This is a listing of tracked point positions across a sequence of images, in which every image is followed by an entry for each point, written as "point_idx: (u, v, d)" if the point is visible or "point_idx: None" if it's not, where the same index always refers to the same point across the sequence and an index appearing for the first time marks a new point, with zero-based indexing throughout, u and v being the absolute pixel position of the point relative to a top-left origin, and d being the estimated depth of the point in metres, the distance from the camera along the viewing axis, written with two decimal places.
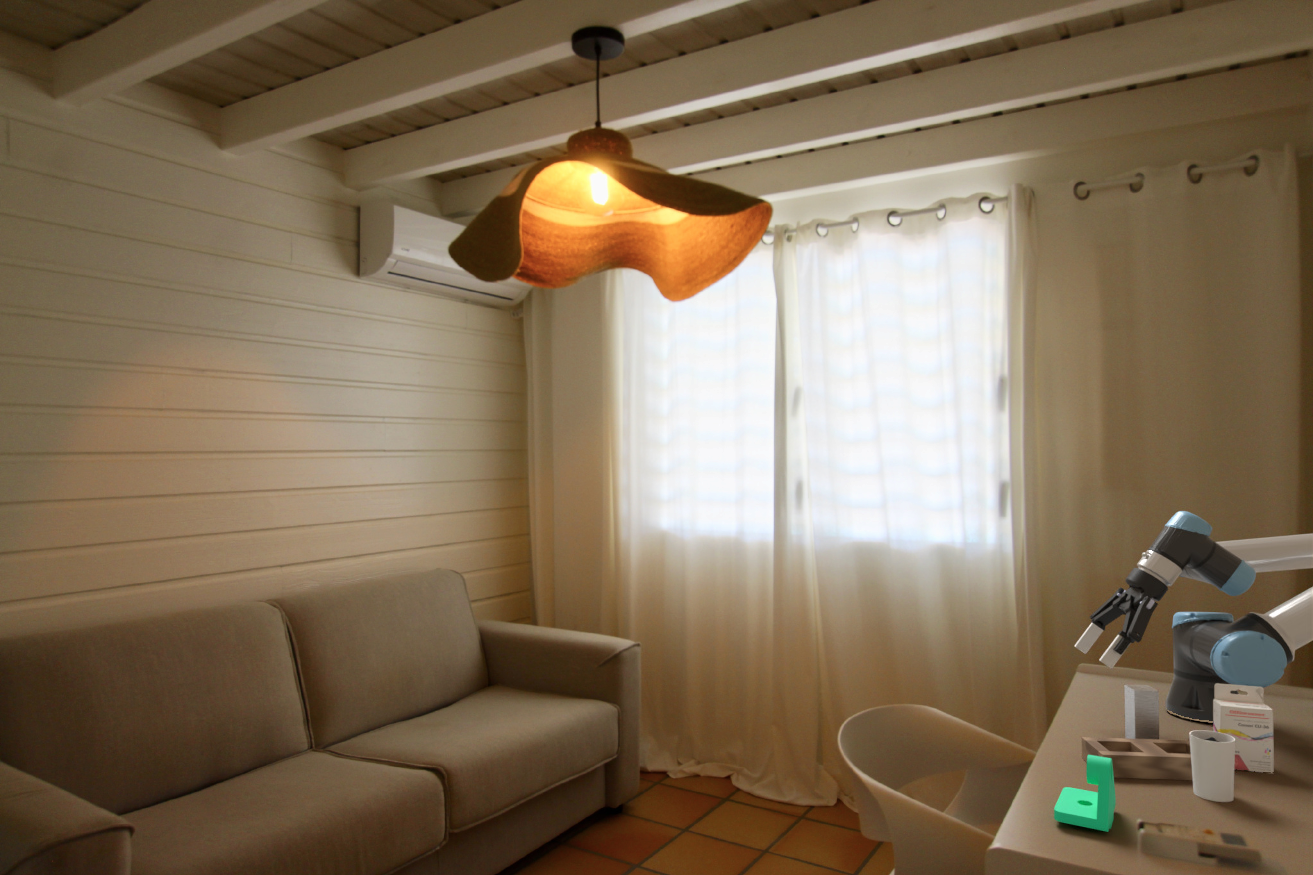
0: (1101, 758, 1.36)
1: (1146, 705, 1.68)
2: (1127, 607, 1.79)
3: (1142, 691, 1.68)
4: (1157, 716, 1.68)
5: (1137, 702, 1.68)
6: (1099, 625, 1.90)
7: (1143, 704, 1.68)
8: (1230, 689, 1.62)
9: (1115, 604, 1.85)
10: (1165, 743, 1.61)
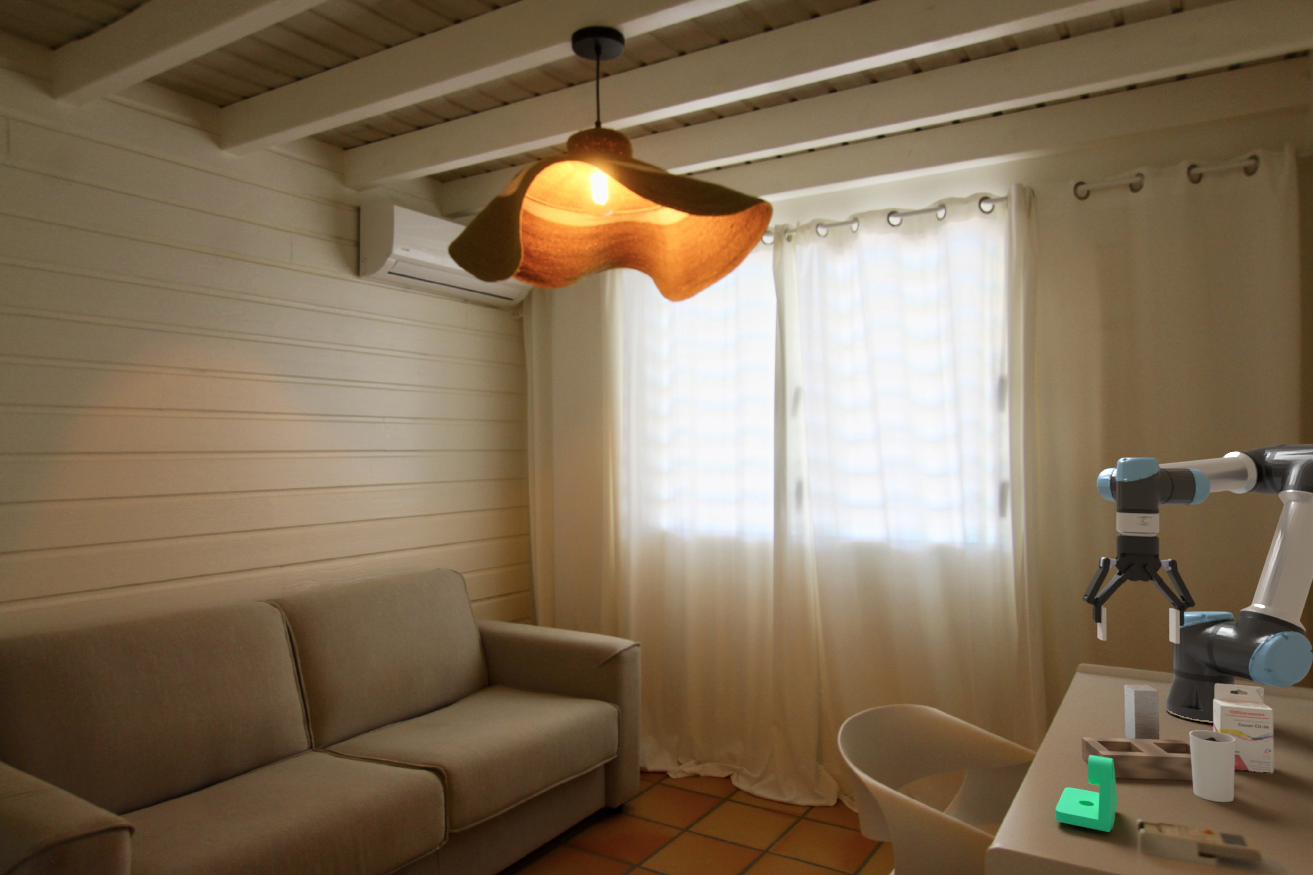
0: (1102, 758, 1.35)
1: (1146, 705, 1.68)
2: (1159, 579, 1.70)
3: (1142, 691, 1.68)
4: (1157, 716, 1.68)
5: (1137, 702, 1.68)
6: None
7: (1143, 704, 1.68)
8: (1230, 689, 1.62)
9: (1126, 579, 1.71)
10: (1165, 743, 1.61)
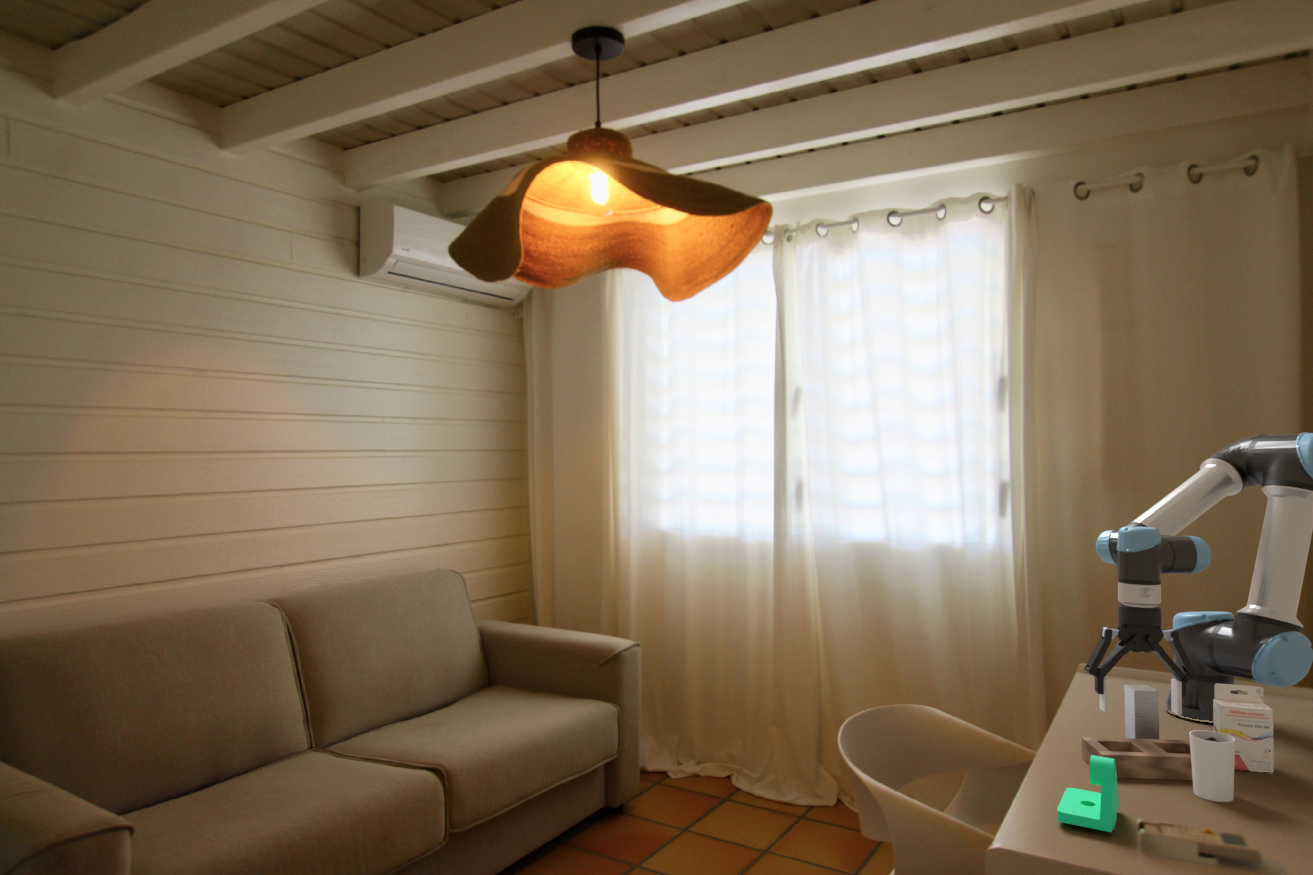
0: (1104, 759, 1.35)
1: (1146, 705, 1.68)
2: (1161, 650, 1.69)
3: (1142, 691, 1.68)
4: (1157, 716, 1.68)
5: (1137, 702, 1.68)
6: None
7: (1143, 704, 1.68)
8: (1230, 689, 1.62)
9: None
10: (1165, 743, 1.61)
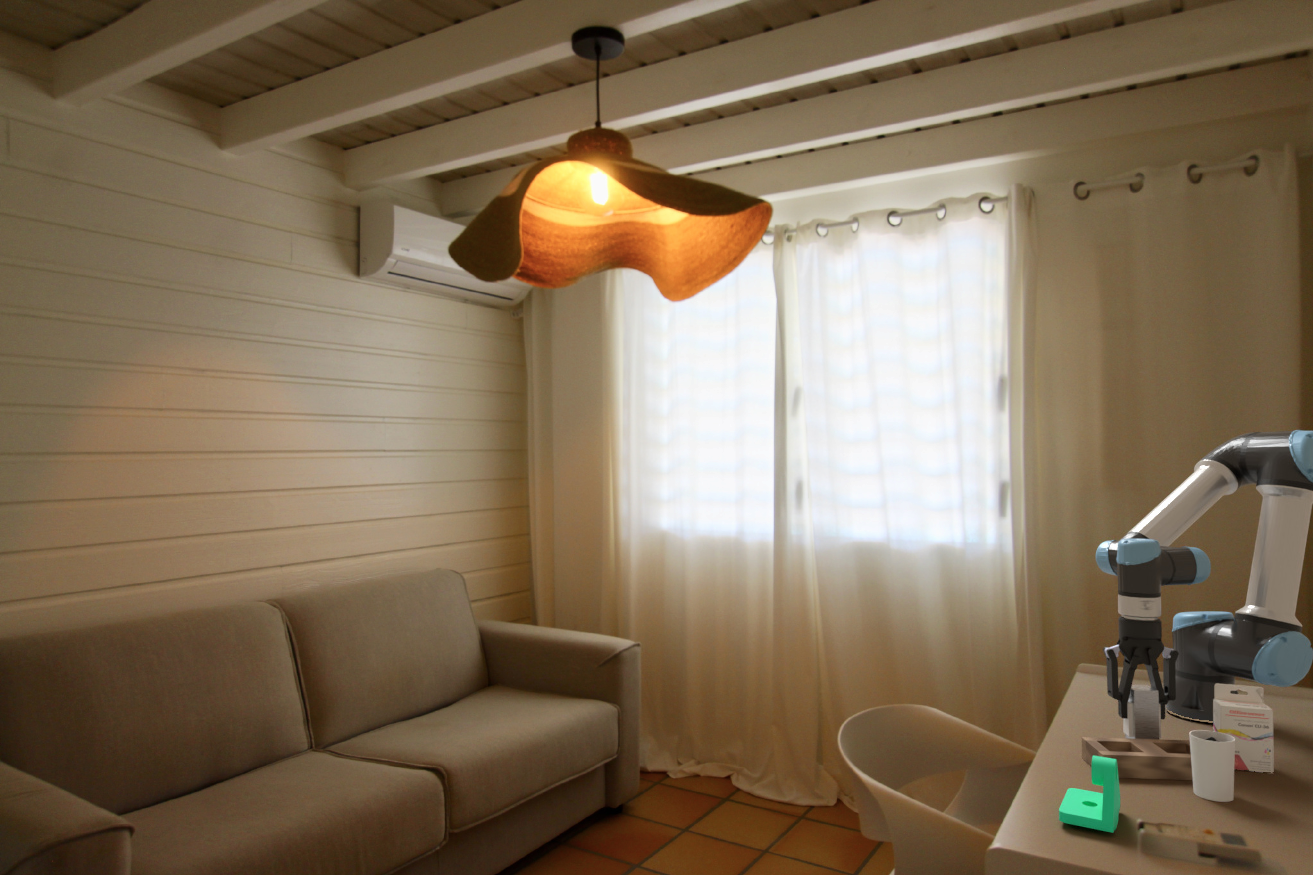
0: (1106, 759, 1.35)
1: (1146, 705, 1.68)
2: (1155, 666, 1.69)
3: (1142, 691, 1.68)
4: (1157, 716, 1.68)
5: (1137, 702, 1.68)
6: None
7: (1143, 704, 1.68)
8: (1230, 689, 1.62)
9: None
10: (1165, 743, 1.61)
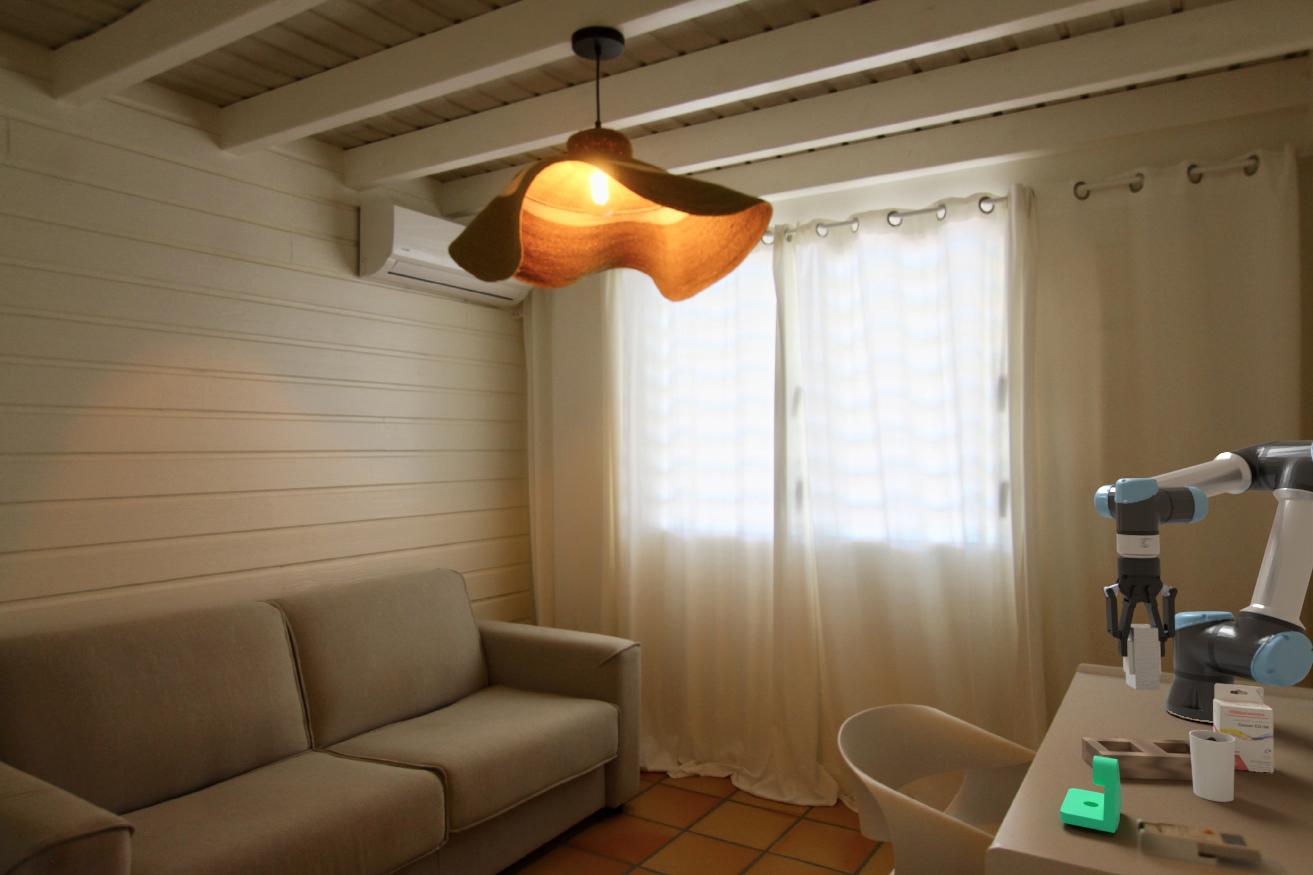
0: (1107, 759, 1.35)
1: (1146, 643, 1.69)
2: (1154, 603, 1.69)
3: (1141, 629, 1.69)
4: (1157, 653, 1.68)
5: (1137, 640, 1.69)
6: None
7: (1143, 642, 1.69)
8: (1230, 689, 1.62)
9: None
10: (1165, 743, 1.61)
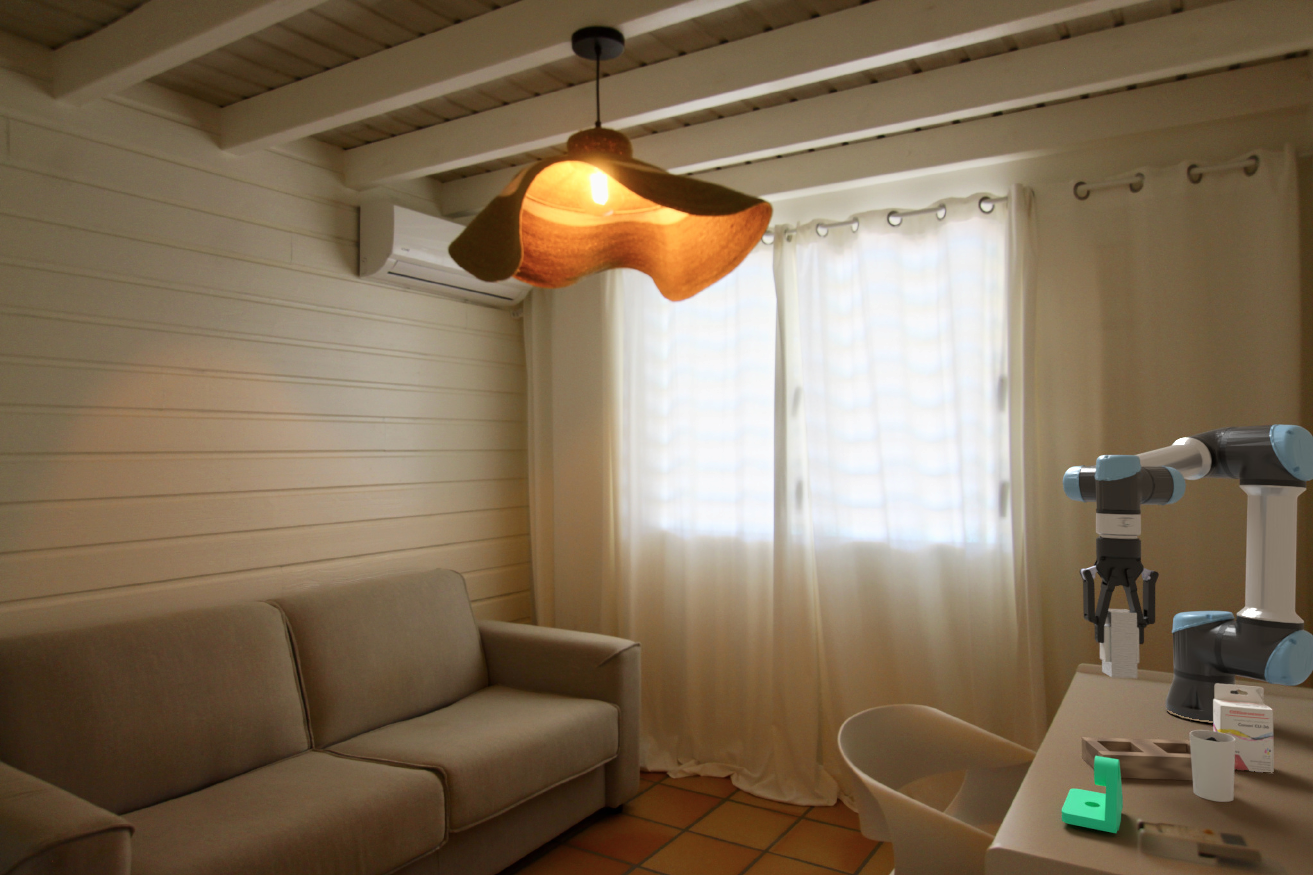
0: (1109, 759, 1.35)
1: (1123, 628, 1.59)
2: (1134, 587, 1.60)
3: (1119, 613, 1.60)
4: (1135, 639, 1.59)
5: (1114, 625, 1.60)
6: None
7: (1121, 627, 1.59)
8: (1230, 689, 1.62)
9: None
10: (1165, 743, 1.61)
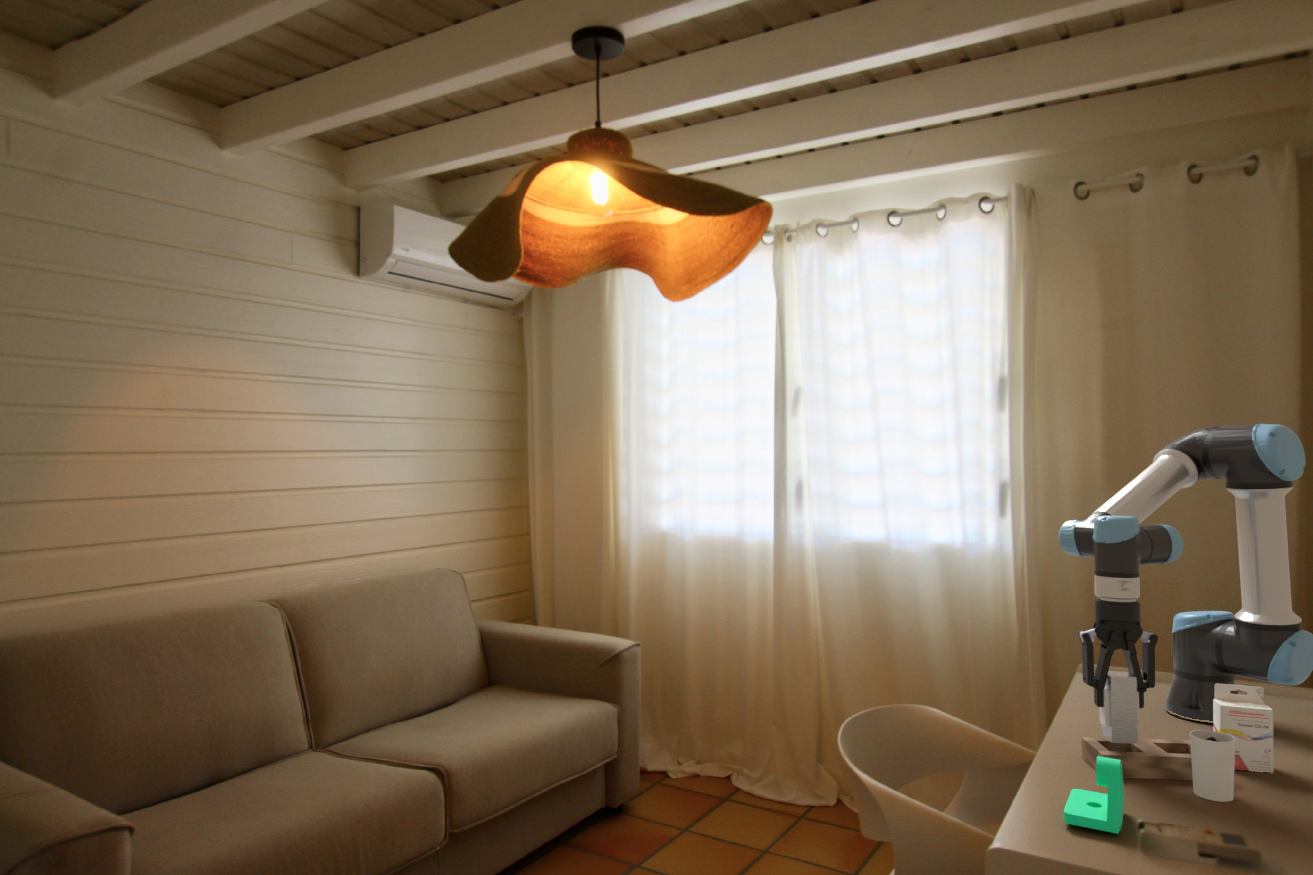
0: (1110, 760, 1.35)
1: (1123, 693, 1.57)
2: (1133, 651, 1.58)
3: (1119, 677, 1.58)
4: (1135, 704, 1.57)
5: (1114, 690, 1.58)
6: None
7: (1120, 691, 1.57)
8: (1230, 689, 1.62)
9: None
10: (1165, 743, 1.61)
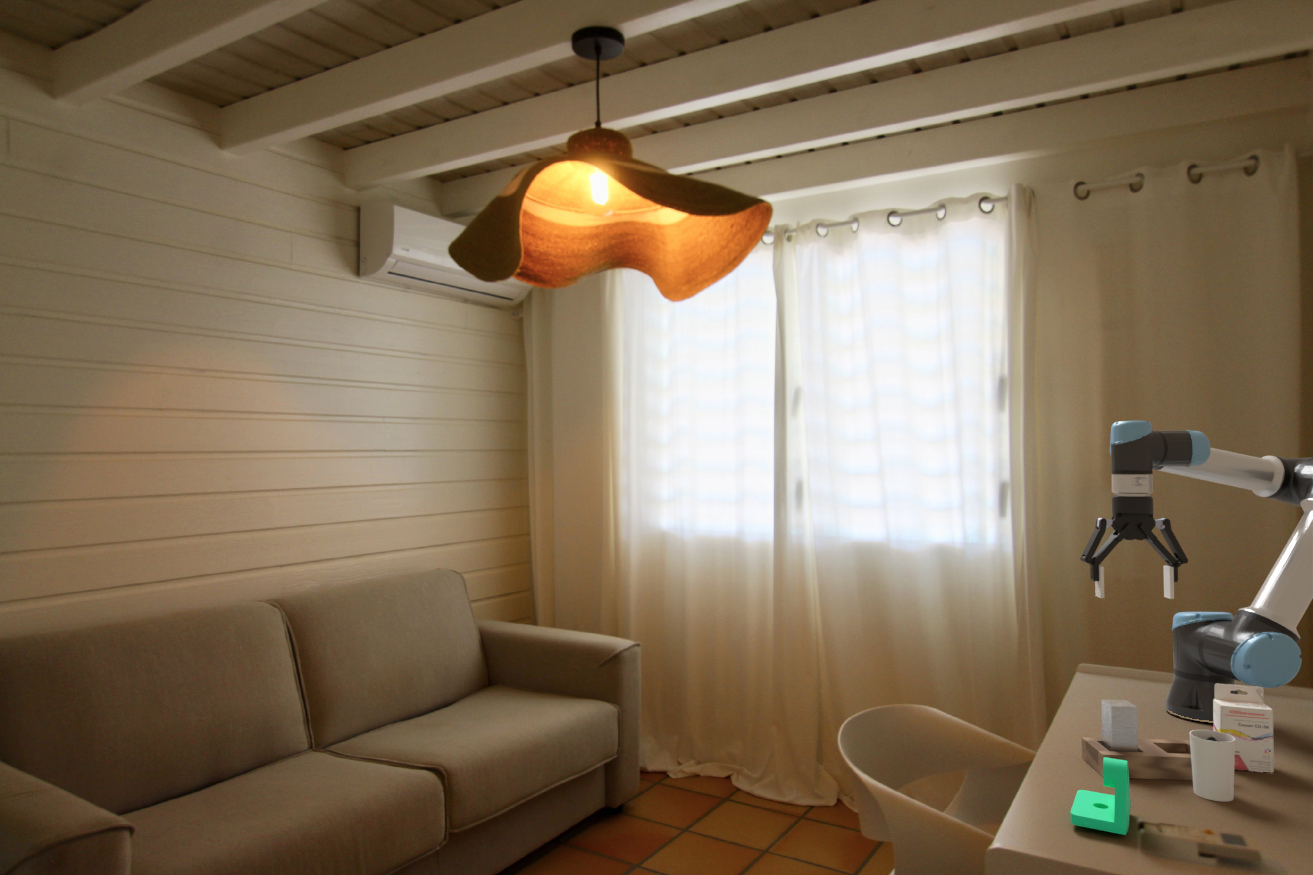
0: (1117, 760, 1.34)
1: (1124, 722, 1.57)
2: (1153, 537, 1.76)
3: (1120, 707, 1.57)
4: (1136, 734, 1.57)
5: (1115, 719, 1.57)
6: None
7: (1121, 721, 1.57)
8: (1230, 689, 1.62)
9: (1122, 538, 1.77)
10: (1165, 743, 1.61)
